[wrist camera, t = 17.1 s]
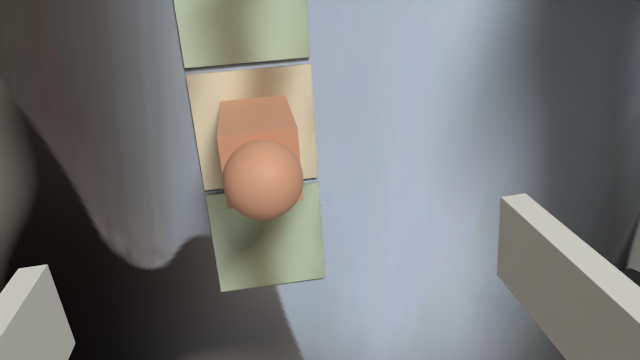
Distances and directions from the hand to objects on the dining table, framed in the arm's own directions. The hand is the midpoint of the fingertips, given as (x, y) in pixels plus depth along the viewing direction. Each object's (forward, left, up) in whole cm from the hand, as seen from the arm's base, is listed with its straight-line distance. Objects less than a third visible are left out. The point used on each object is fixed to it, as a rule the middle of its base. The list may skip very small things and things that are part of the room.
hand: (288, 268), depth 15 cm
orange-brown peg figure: (0, +3, -23) cm, 23 cm away
